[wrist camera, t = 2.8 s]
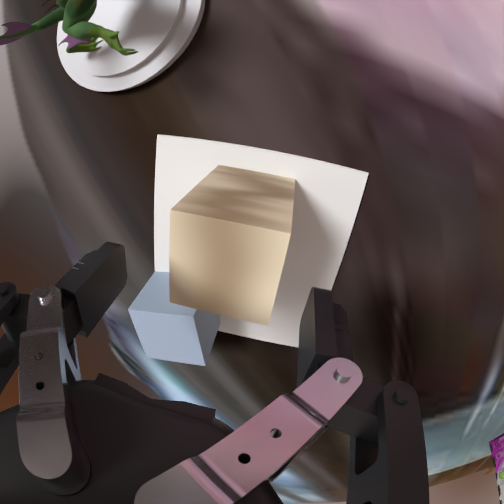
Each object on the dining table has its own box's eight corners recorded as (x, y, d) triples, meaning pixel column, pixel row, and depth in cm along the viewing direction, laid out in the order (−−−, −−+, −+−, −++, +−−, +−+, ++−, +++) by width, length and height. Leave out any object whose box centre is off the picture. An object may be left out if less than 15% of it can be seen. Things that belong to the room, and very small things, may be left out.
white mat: (367, 172, 18) (368, 173, 18) (308, 347, 26) (308, 349, 26) (158, 134, 19) (157, 134, 19) (158, 313, 27) (157, 314, 27)
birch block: (295, 179, 19) (290, 233, 12) (280, 246, 21) (267, 325, 14) (218, 164, 19) (170, 209, 12) (211, 232, 22) (169, 302, 15)
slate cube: (212, 274, 23) (193, 316, 19) (220, 322, 26) (205, 365, 21) (155, 271, 24) (128, 309, 20) (167, 317, 27) (146, 356, 22)
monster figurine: (230, 45, 15) (158, 2, 6) (86, 118, 19) (-21, 153, 10) (178, -75, 10) (105, -138, 1) (52, 5, 14) (-43, 0, 5)
